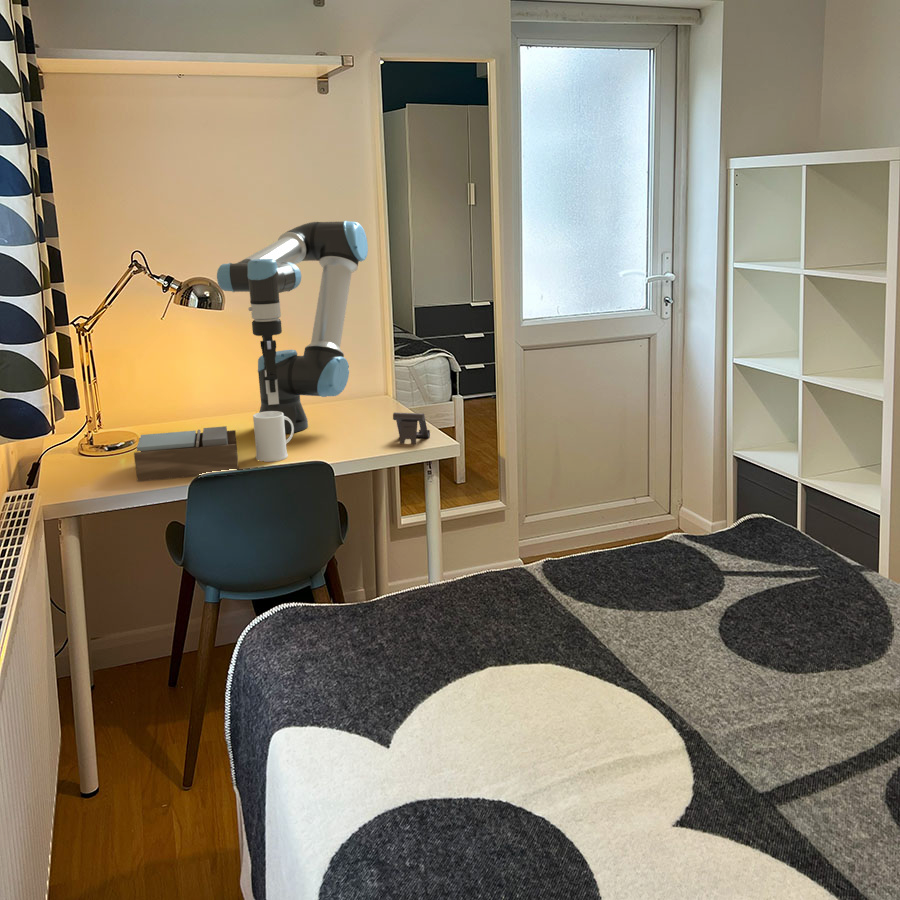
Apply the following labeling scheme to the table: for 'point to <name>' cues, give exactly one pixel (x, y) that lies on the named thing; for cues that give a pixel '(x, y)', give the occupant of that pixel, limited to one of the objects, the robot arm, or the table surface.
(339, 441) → the table surface
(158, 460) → the brown wooden box
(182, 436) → the trapdoor
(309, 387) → the robot arm
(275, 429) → the mug
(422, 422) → the portable electronic device stand
